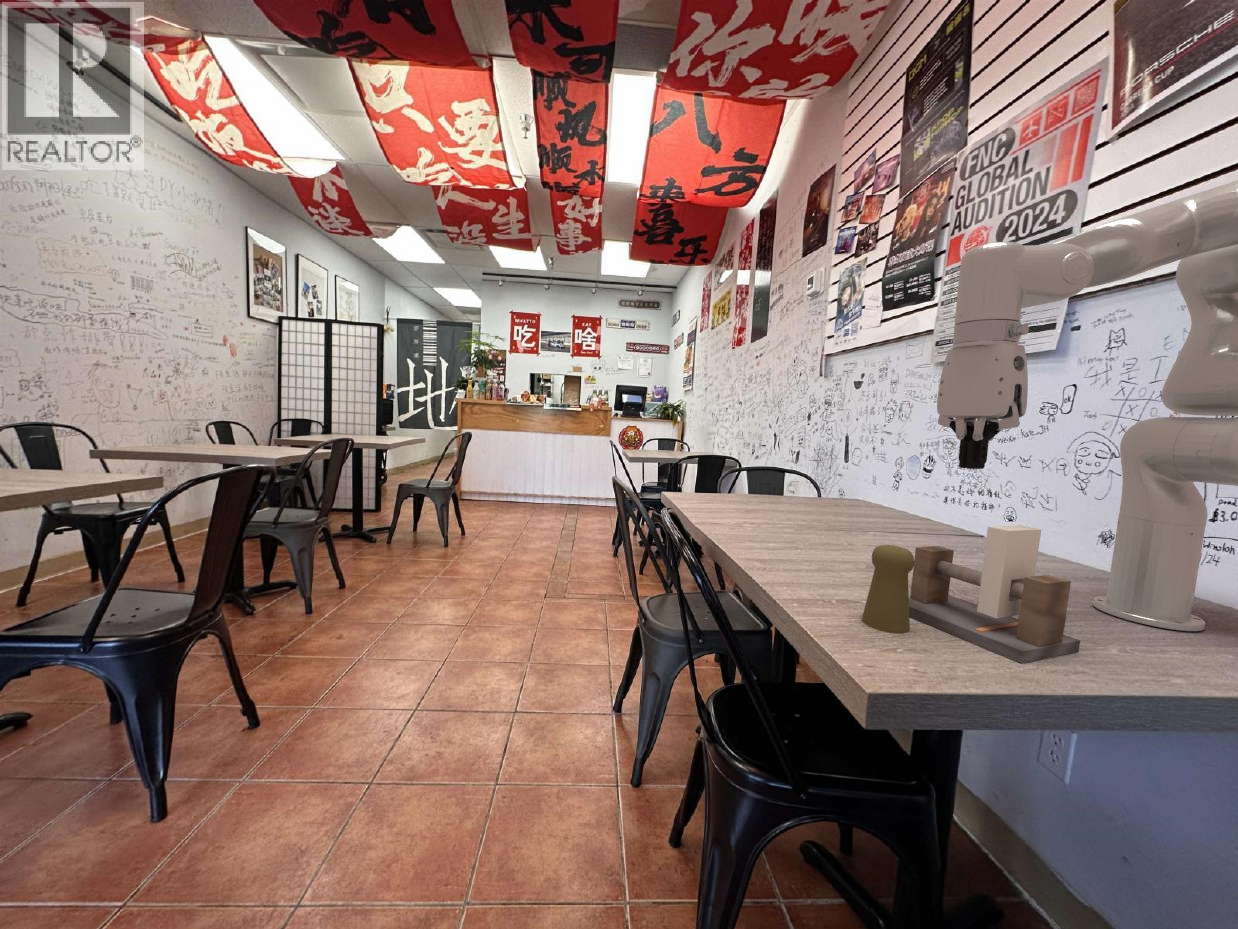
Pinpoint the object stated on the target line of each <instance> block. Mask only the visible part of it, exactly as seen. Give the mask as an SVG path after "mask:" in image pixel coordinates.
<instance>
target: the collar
mask: <svg viewBox="0 0 1238 929" xmlns="http://www.w3.org/2000/svg"><path fill="white" fill-rule="evenodd" d="M986 532H987V533H986V540H985V546H984V555H983V560H982V561H983V563H982V570H981V572H982V577H981V585H980V586H979V594H978V602H977V605H978V608H977V612H980V613H983V614H986V615H989V616H991V617H994V618H1003V617H1010V616H1011V617H1017V616H1019V615H1020V607H1021V600H1022V599H1018V598H1015V597H1012V596H1010V597H1009V594H1010V587H1011V580H1014V581H1015V582H1018V583H1022V584H1024V578H1025V577H1032V576H1036V571H1037V564H1038V554H1039V551H1040V550H1039V549H1040V543H1041V542H1040V541H1041V540H1040V539H1041V534H1042V529H1041V528H1036V527H1030V526H1026V525H1000V526H999V525H998V526H996V525H995V526H993V525H992V526H988V527H987V531H986Z"/></svg>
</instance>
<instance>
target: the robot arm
mask: <svg viewBox="0 0 1238 929" xmlns="http://www.w3.org/2000/svg"><path fill="white" fill-rule="evenodd" d="M1177 261H1179V262H1178V265H1177V267H1176V273H1175V280H1176V285H1177V287H1178V290H1179V292H1180V294H1181V295H1182V297H1183V299H1184V302H1185V304H1186V307H1187V310H1188V312H1189V315H1190V322H1191V324H1190V330H1189V332H1188V334H1187V337H1186V339H1185V341H1184V344H1183V345H1182V348H1181V349H1180V351H1179V354H1178V356H1177V357H1176V359H1175V361H1174V363H1173V365H1172V367H1171V369H1170V371H1169V373H1168V375H1167V377H1166V379H1165V381H1164V384H1163V387H1162V391H1161V401H1162V404H1163V405H1164V406H1165V408H1166V409H1168V410H1170V411H1172V412H1175V413H1177V414H1182V415H1190V416H1165V417H1164V416H1163V417H1155V418H1148V419H1144V420H1142V421H1138V422H1137V423H1135V424H1133V425H1131V426H1130V427H1129V428H1128V429H1126V431H1125V432H1124V433H1123V435H1122V437H1121V442H1120V446H1119V450H1120V451H1119V454H1120V462H1121V472H1122V473H1121V474H1122V486H1121V498H1120V505H1119V506H1120V507H1119V512H1118V518H1117V524H1116V531H1115V538H1114V545H1113V552H1112V559H1111V565H1110V566H1111V567H1110V572H1109V578H1108V585H1107V592H1106V595H1098V596H1095V597H1093V599H1092V605H1093V606H1094V608H1096V609H1097V610H1100V611H1101V612H1104V613H1105V614H1109V615H1112V616H1114V617H1117V618H1120V619H1124V620H1127V621H1130V622H1134V623H1138V624H1142V625H1146V626H1151V627H1156V628H1161V629H1168V630H1174V631H1180V632H1181V631H1184V632H1201V631H1203V630H1205V628H1206V627H1205V626H1206V621H1205V620H1204V619H1202V618H1201V617H1199V616H1197V615H1194V614H1192V609H1193V605H1194V602H1195V601H1196V596H1195V593H1196V587H1197V582H1198V575H1199V568H1200V563H1201V562H1200V561H1201V557H1202V551H1203V544H1204V538H1205V532H1206V526H1207V521H1208V506H1207V504H1206V502H1205V499H1204V498H1203V496H1202V494H1201V493H1200V491H1199V489H1198V488H1197V486H1196V484H1195V483H1205V484H1215V485H1222V486H1223V485H1224V486H1235V487H1236V486H1237V487H1238V179H1237V180H1234V181H1231V182H1227V183H1225V184H1222V185H1219V186H1216V187H1212V188H1210V189H1206V190H1203V191H1200V192H1197V193H1194V194H1191V195H1188V196H1187V195H1186V196H1185V197H1181V198H1178V199H1175V200H1171V201H1169V202H1165V203H1163V204H1160V205H1156V206H1154V207H1151V208H1149V209H1148V208H1147V209H1145V210H1142V211H1140V212H1135V213H1133V214H1130V215H1129V214H1128V215H1127V216H1123V217H1121V218H1118V219H1114V220H1111V221H1109V222H1106V223H1103V224H1101V225H1098V226H1095V227H1093V228H1089V229H1087V230H1085V231H1082V232H1079V233H1078V234H1075V235H1073V236H1070V237H1068V238H1065V239H1062V240H1059V241H1057V242H1055V243H1049V244H1035V245H1034V244H1033V245H1023V244H1021V243H1019V242H1016V241H1015V242H1014V241H995V242H989V243H984V244H980V245H977V246H974V247H972V248H969V250H967V251H966V252H965V253H964V254H963V256H962V258H961V260H960V267H959V277H958V284H957V297H956V307H955V318H954V326H953V336H952V345H951V346H952V348H951V349H948V350H947V353H946V356H945V359H944V362H943V367H942V370H941V375H940V380H939V386H938V391H937V399H936V411H937V414H938V415H939V416H938V418H937V424H938V425H939V426H942V427H946V428H950V429H951V430H952V431H953V432H954V434H955V437H956V439H957V440H959V449H958V461H959V463H958V467H959V468H961V469H969V470H983V469H985V468H986V462H987V461H988V452H989V444H990V442H991V441H993V440H994V438H995V436H997V435H998V434H999V433H1000V432H1001V431H1003V430H1004V431H1005V430H1011V429H1014V428H1018V427H1019V426H1020V424H1021V422H1020V418H1022V417H1024V416H1025V414H1026V411H1027V407H1028V405H1027V404H1028V394H1029V393H1028V391H1029V389H1028V387H1029V384H1028V383H1029V379H1028V378H1029V377H1028V375H1029V373H1028V361H1027V353H1026V349H1025V345H1022V344H1018V342H1020V337H1021V336H1024V335H1026V336H1027V335H1028V334H1029V332H1030V326H1029V325H1028V324H1027V323H1026V324H1022V322H1021V314H1022V309H1025V308H1030V307H1036V306H1042V305H1046V304H1051V303H1055V302H1061V301H1063V300H1067V299H1069V298H1071V297H1074V296H1076V295H1077V294H1079V293H1081V292H1082V291H1083V290H1084V289H1089V288H1094V287H1098V286H1103V285H1107V284H1110V283H1111V284H1112V283H1114V282H1117V281H1122V280H1126V279H1129V278H1132V277H1135V276H1137V275H1140V274H1143V273H1146V272H1148V271H1152V270H1154V269H1156V268H1159V267H1163V266H1165V265H1168V264H1169V265H1170V264H1172V263H1174V262H1177ZM1195 416H1197V417H1195ZM1203 416H1204V417H1203ZM1205 416H1206V417H1205ZM1209 416H1210V417H1209ZM1217 416H1218V417H1217ZM1219 416H1220V417H1219ZM1222 416H1223V417H1222Z"/></svg>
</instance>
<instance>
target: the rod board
mask: <svg viewBox="0 0 1238 929" xmlns="http://www.w3.org/2000/svg"><path fill="white" fill-rule="evenodd" d="M914 550H915V553H914V566H913V569H912V577H911V588H910V593H909V618H911V619H913V620H915V619H916V621H918V622H920V623H923V624H925V625H927V626H931V627H932V626H933V627H932V628H935V629H937V630H940V631H942V630H943V632H945V633H947V634H949V633H950V634H949V635H952V636H954V637H956V638H959V637H960V638H959V639H961V640H963V641H966V640H967V641H966V642H968V641H969V643H971V644H973V643H975V644H974V645H976V644H977V645H976V646H978V647H981V648H982V649H985V650H987V651H989V652H993V653H995V654H998V655H1001V656H1002V655H1003V656H1002V657H1005V658H1007V657H1009V658H1010V659H1009V658H1008V659H1009V660H1012V661H1013V662H1017V661H1018V662H1017V663H1019V662H1020V663H1019V664H1025V662H1026V663H1031V662H1036V661H1040V660H1045V658H1046V659H1049V657H1051V658H1054V657H1059V655H1060V656H1065V655H1068V654H1074V653H1079V652H1080V647H1081V639H1078V638H1075V637H1072V636H1068V635H1066V634H1064V633H1065V626H1066V621H1067V620H1066V619H1067V612H1068V604H1069V599H1070V598H1069V597H1070V591H1071V583H1072V580H1069V579H1066V578H1062V577H1058V576H1054V575H1050V574H1042V575H1035V576H1032V577H1025V578H1024V584H1022V583H1018V582H1015V581H1014V580H1011V587H1010V594H1009V597H1010V596H1012V597H1015V598H1018V599H1022V600H1021V607H1020V615H1018V618H1016V617H1015V616H1010V617H1003V618H994V617H991V616H989V615H986V614H983V613H980V612H977V608H978V604H977V603H973V602H970V601H967V600H964V599H962V598H959V597H956V596H953V595H950V594H949V593H950V585H951V578H952V579H954V580H958V581H961V582H965V583H968V584H971V585H975V586H977V587H980V585H981V577H982V571H980V570H977V569H976V570H975V569H973V568H969V567H966V566H963V565H959V564H955V563H953V561H954V552H955V550H954V549H952V548H951V549H950V548H947V547H943V546H940V545H933V546H931V545H930V546H917V547H915V549H914ZM1029 661H1030V662H1029Z"/></svg>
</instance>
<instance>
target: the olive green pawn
mask: <svg viewBox="0 0 1238 929" xmlns="http://www.w3.org/2000/svg"><path fill="white" fill-rule="evenodd" d="M914 559H915V555H913V553H912V551H911V550H909V549H907V548H905V547H902V546H897V545H890V544H881V545H878V546H876V547H875V548H874V549H873V551H872V553H871V563H872V565H873V567H874V571H873V575H872V578H871V582H870V586H869V590H868V594H867V597H866V601H865V605H864V608H863V613H862V617H861V621H862V623H863V624H865V625H866V626H868V627H870V628H873V629H875V630H878V631H882V632H885V633H891V634H905V633H909V632H910V630H911V626H910V624H911V622H910V617H909V598H910V593H909V589H910V588H909V573H910V572H912V571H913V568H914Z"/></svg>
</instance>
